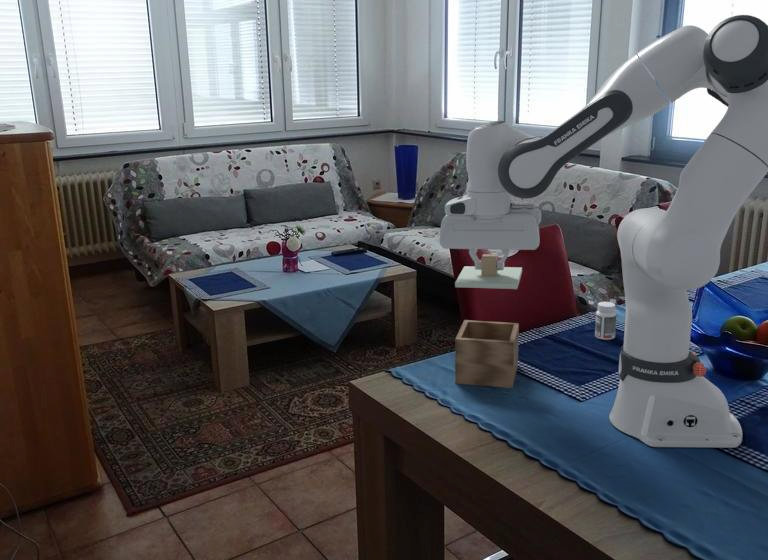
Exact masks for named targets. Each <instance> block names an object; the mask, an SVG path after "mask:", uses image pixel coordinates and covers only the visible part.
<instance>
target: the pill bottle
mask: <svg viewBox="0 0 768 560" xmlns="http://www.w3.org/2000/svg"><path fill="white" fill-rule="evenodd" d="M616 325H617V312H616V304H615V303H614V302H611V301H600V302H598V303H597V310H596V313H595V328H594V336H595V337H596V339H599V340H604V341H610V340H613V339H615V338H616V328H617V326H616Z"/></svg>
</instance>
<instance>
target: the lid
mask: <svg viewBox="0 0 768 560" xmlns="http://www.w3.org/2000/svg"><path fill="white" fill-rule="evenodd" d="M498 256H499V254H491V253H488V254H487V253H486V254H485V253H484V254H482V255H481V257H480V258H481V259H480V260H481V270H475V265H474V266H473V265H472V266H467V265H466V266H465V265H464V266H463V268H462V270H461V272H460V273H459V275H458V277H457V279H456V280H455V282H454V286H455V287H454V288H464V289H465V288H468V289H469V288H472V289H473V288H474V289H475V288H476V289H478V288H479V289H499V290H500V289H502V290H503V289H504V290H506V289H507V290H510V289H511V290H518V288H519V285H520V282H521V277H522V273H523V267H522V266H521V267H520V266H519V267H518V266H517V267H516V266H515V267H514V266H512V267H511V266H504V270H496V267H497V266H496V262H497V260H499V259H498V258H499V257H498Z"/></svg>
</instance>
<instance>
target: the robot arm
mask: <svg viewBox="0 0 768 560" xmlns="http://www.w3.org/2000/svg"><path fill="white" fill-rule="evenodd" d="M699 88H705V89H706V92H707V94H708V95H710V96H711V97H712V98H714V99H716V100H717V101H718V102H720V103H721V104H722V105H724V106H726V107H727V110H726V112H725V113H724V116H723V117H722V118H721V119H720V121H719V122H718V124H717V125H716V126H715V128H714V129H713V130H712V131H711V133H710V134H709V135H708V136H707V138H706V139H705V140H704V142H703V143H702V144H701V145H700V146H699V148H698V149H697V151H696V152H695V153H694V155H693V156H692V157H691V158H689V161H687V163H686V164H685V166H683V169H682V170H681V172H680V174H679V180H678V181H679V183H678V186H677V189H676V192H675V194H674V196H673V198H672V200H671V202H670V204H669V206H668V208H667V209H662V208H658V207H645V208H643V207H642V208H638V209H634V210H633V211H630V212H629V213H628V214H627V215H625V216H624V218H623V219H622V220H621V221H620V223H619V225H618V228H617V232H616V233H617V234H616V237H617V239H616V240H617V243H618V247H619V250H620V258H621V259H620V260H621V269H622V281H623V282H622V283H623V290H624V297H625V320H624V333H623V334H624V335H623V345H622V346H621V347H620V353H619V361H618V376H619V383H618V387H617V392H616V395H615V400H614V403H613V406H612V409H611V411H610V413H609V418H608V419H609V421H610V423H611V424H612V425H613V426H614V427H615V428H616V429H617V430H619V431H621V432H623V433H625V434H627V435H629V436H630V437H631V436H632V437H634V438H635V439H638V440H640V441H641V442H643V443H644V444H645V445H647V446H650V447H653V448H731V449H732V448H733V449H734V448H738V447H739V446H740V445H741V444H742V442H743V428H742V426H741V424H740V422H739V420H738V419H737V417H736V416H734V414H733V413H731V412H730V406H729V403H728V400H727V398H726V396H725V394H724V393H723V392H722V390H721V389H720V388H719V387H718V386H717V385H715V384H714V383H712V382H711V381H709V379H707V378H706V377H704V376H705V375H706V373H707V368H706V366H705V364H704V363H703V362H701V359H700V357H699V356H697V353H695V351H694V350H693V351H692V352H691V351H690V346H691V344H690V343H691V336H692V324H693V310H692V306H691V303H690V300H689V296H688V291H695V290H698V289H700V288H702V287H704V286H706V285H707V284H708V283H710V282H711V281H712V279H714V277H715V276H716V274H717V273H718V272H719V271H718V270H719V267H720V264H721V248H722V245H723V241H724V240H725V237H726V235H727V233H728V231H729V228H730V226H731V225H732V222H733V220H734V218H735V216H736V215H737V213H738V211H739V210H740V209H741V207H742V206H743V204H744V203H745V201H746V200H747V199H748V198H749V197H750V195H751V194H752V193H753V191H754V190H755V188H757V186H758V185H759V184H760V182H761V181H762V180H763V179H764V177H765V176H766V175H767V173H768V24H767V23H766V22H765V21H763V20H762V19H761V18H758V17H756V16H753V15H749V14H740V15H739V14H738V15H733V16H730V17H727V18H725V19H723V20H722V21H720V22H719V23H718V24H716V25H715V26H714V27H713V28H712V29H711V30H710V32H709V33H707V31H705V30H704V29H702V28H701V27H699V26H696V25H684V26H680V27H679V28H676V29H675V30H673V31H671V32H669V33H667V34H665V35H663V36H661V37H659V38H658V39H656V40H654V41H653V42H651V43H650V44H648V45H647V46H646V45H645V47H643V48H642V49H641V50H639V51H637V52H636V53H635V54H634V55H632V56H631V57H630V58H629V59H627V60H626V61H625V62H623V63H622V64H621V65H620V66H619V67H617V69H615V70H614V72H613V73H611V75H610V76H609V77H608V78H607V79H606V80H605V81H604V82H603V83H602V85H601V86H600V88H599V89H598V91H596V93H595V94H594V95H593V97H592V98H591V99H590V100H589V102H587V103H586V105H584V106H583V108H582V109H580V110H579V111H577V112H576V113H574V115H572V116H571V117H570V118H568V119H567V120H566V121H564V122H563V123H561V124H560V125H558V126H557V127H556V128H554V129H553V130H552V131H550V132H549V133H547V134H546V135H543V136H542V137H539V136H536V135H531V134H529V133H527V132H524V131H522V130H519V129H518V128H515V127H514V126H512V125H510V124H509V123H508V122H507V121H506V120H505V121H504V120H495V121H490V122H486V123H485V122H484V123H482V124H478V125H477V126H475V127H473V128H472V129H471V130H470V131H469V132H468V133H469V134H468V136H467V143H466V155H465V156H466V157H465V158H466V159H465V160H466V167H465V168H466V172H467V175H468V176H467V177H468V182H467V185H466V194H465V195H462V196H459V197H455V198H452V199H450V200H449V201H447V202H446V203H445V205H444V214H445V216H444V217H443V218H442V220H441V223H440V229H439V245H440V246H441V248H443V249H449V250H451V249H452V250H453V249H454V250H468V254H469V256H470V258H471V260H472V261H473V262H474V266H475V270H481V259H479V257H478V255H477V252H478V250H501V254H502V255H503V256H502V257H501V259H498V260H497V262H496V266H497V267H496V270H504V267H505V262H506V260H507V258H508V257H509V255H510V251H511V250H517V251H518V250H520V251H535V250H537V249H538V248H539V247H540V242H541V241H540V227H539V225H540V224H541V222H542V210H541V209H540V207H538V206H537V205H535V204H534V203H529V202H528V203H512V196H513V197H515V198H519V199H525V200H526V199H533V198H536V197H538V196H540V195H541V194H543V193H544V192H545V191H546V190H547V189H549V187H550V185H551V184H552V182H553V181H554V179H555V176H556V175H558V172H559V171H560V170H561V169H562V168H563V167H564V166H565V165H566V164H568V163H570V161H572V160H573V159H575V158H576V157H577V156H579V155H580V154H582V153H584V152H585V151H586V150H588V149H589V148H590V147H592V146H593V145H594V144H596V143H597V142H599V141H601V140H602V139H604V138H605V137H607V136H609V135H612V134H614V133H616V132H618V131H620V130H623V129H625V128H628V127H630V126H632V125H634V124H637V123H639V122H641V121H644V120H646V119H647V118H649V117H652V116H653V115H655V114H657V113H659V112H661V111H662V110H664V109H665V108H667V107H668V106H670V105H671V104H673V103H674V102H675V101H677V100H678V99H680V98H682V97H683V96H684V95H686V94H687V93H690V92H691V91H693V90H695V89H699Z"/></svg>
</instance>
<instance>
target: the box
mask: <svg viewBox="0 0 768 560" xmlns="http://www.w3.org/2000/svg"><path fill="white" fill-rule="evenodd" d="M519 331H520V323H518V322H505V321H486V320H485V321H484V320H471V319H470V320H469V319H464V320H463V322H462V324H461V326H460V328H459V330H458V333H457V335H456V337H455V340H454V341H455V342H454V343H455V347H454V349H455V350H454V351H455V353H454V359H455V361H454V363H455V365H454V370H455V371H454V372H455V374H454V375H455V379H454V382H455V384H458V385H467V386H468V385H470V386H480V387H481V386H483V387H494V388H495V387H496V388H507V389H513V388H514V384H515V380H516V375H517V371H518V367H519V343H520V342H519V338H520V336H519V335H520V333H519Z"/></svg>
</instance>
